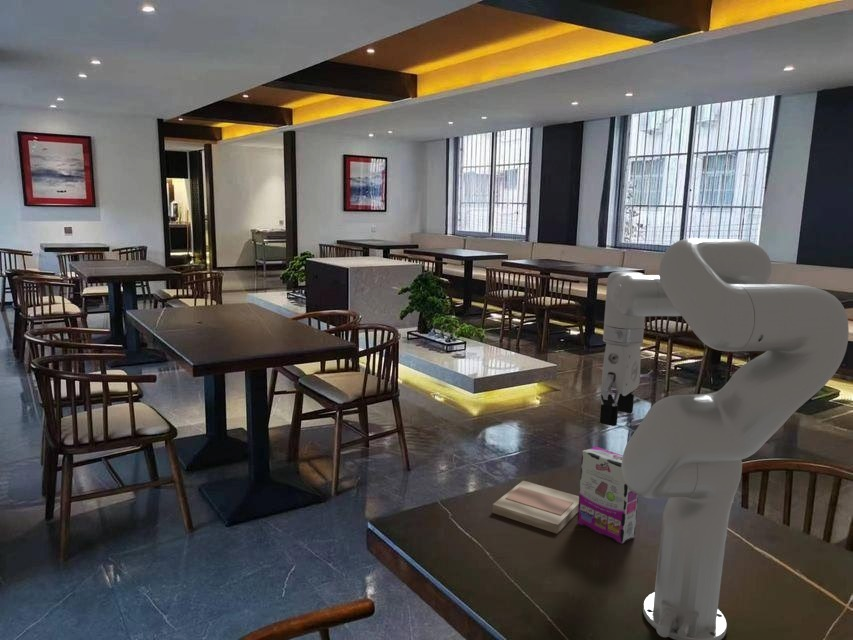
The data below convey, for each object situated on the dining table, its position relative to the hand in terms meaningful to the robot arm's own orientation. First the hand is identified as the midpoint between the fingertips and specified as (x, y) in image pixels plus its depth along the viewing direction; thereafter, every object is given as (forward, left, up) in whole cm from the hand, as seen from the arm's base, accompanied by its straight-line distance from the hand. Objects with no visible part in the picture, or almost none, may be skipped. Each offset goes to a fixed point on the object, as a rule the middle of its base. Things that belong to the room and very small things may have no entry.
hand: (616, 418), depth 126 cm
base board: (0, +15, -24) cm, 29 cm away
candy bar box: (0, 0, -25) cm, 25 cm away
